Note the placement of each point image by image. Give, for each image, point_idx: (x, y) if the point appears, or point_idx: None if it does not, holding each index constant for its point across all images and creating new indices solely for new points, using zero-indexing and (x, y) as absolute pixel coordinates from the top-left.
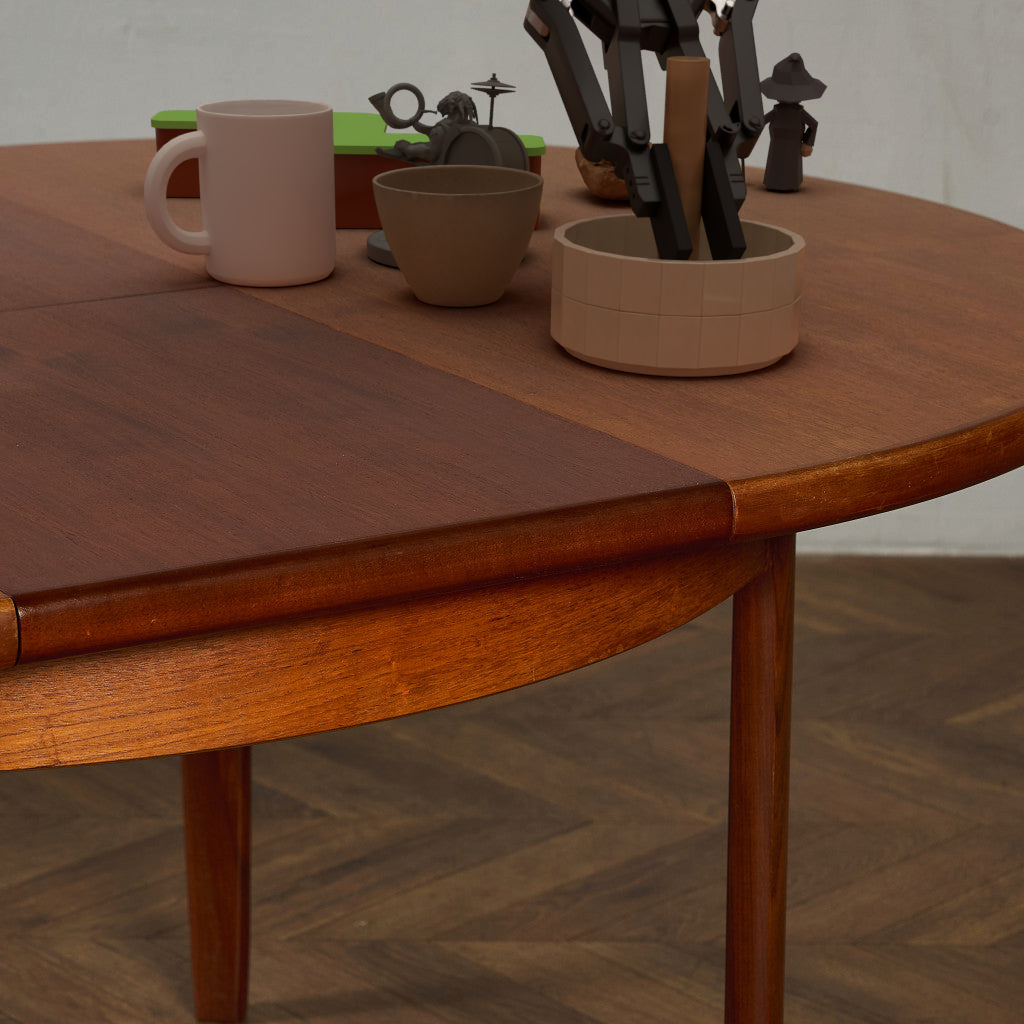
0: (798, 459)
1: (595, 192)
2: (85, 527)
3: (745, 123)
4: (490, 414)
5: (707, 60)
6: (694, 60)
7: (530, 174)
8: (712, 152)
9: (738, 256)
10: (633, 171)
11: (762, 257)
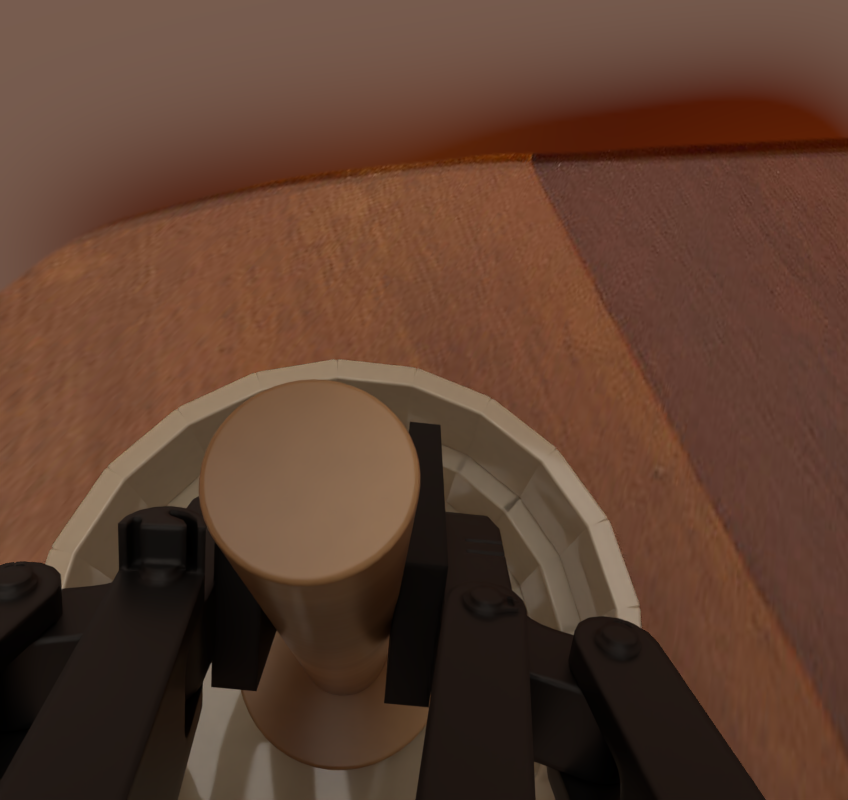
0: (430, 185)
1: None
2: None
3: (52, 587)
4: (730, 407)
5: (254, 397)
6: (331, 385)
7: None
8: None
9: None
10: (505, 569)
11: (282, 376)
